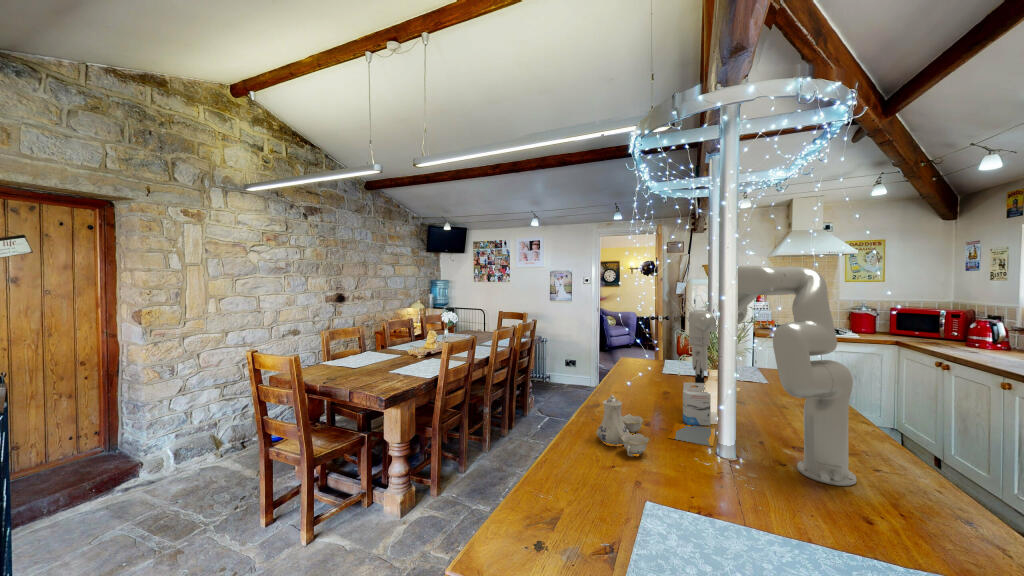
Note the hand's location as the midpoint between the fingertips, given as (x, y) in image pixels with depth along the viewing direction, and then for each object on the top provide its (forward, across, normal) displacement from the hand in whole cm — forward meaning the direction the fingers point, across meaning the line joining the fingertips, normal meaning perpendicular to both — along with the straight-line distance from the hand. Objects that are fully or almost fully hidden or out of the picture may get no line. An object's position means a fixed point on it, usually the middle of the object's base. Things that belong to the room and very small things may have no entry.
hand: (699, 386), depth 155 cm
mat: (+11, -23, 0) cm, 26 cm away
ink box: (+11, -12, 0) cm, 16 cm away
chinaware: (+12, -42, +20) cm, 48 cm away
